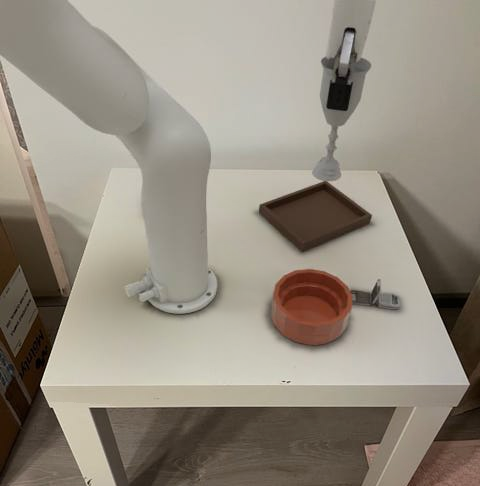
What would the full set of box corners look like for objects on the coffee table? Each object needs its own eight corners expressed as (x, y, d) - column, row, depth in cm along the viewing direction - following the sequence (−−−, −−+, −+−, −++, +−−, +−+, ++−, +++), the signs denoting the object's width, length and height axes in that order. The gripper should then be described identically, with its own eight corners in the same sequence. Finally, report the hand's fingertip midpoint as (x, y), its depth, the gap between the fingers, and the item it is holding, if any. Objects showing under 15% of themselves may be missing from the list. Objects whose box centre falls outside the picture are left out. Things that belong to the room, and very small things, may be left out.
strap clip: (398, 298, 85) (404, 280, 82) (398, 310, 83) (406, 293, 80) (349, 291, 86) (354, 273, 83) (348, 303, 84) (354, 285, 81)
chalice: (347, 164, 86) (370, 56, 73) (348, 186, 81) (372, 74, 68) (306, 161, 86) (321, 52, 73) (304, 182, 82) (320, 70, 68)
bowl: (302, 357, 76) (306, 337, 72) (256, 307, 83) (258, 286, 79) (362, 325, 80) (369, 305, 77) (314, 280, 87) (318, 259, 84)
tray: (302, 252, 92) (303, 243, 91) (258, 213, 100) (259, 204, 99) (369, 223, 99) (372, 215, 98) (324, 188, 107) (325, 180, 106)
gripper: (341, -62, 67) (321, 73, 81) (326, -29, 56) (306, 121, 69) (396, -57, 66) (367, 79, 80) (392, -23, 55) (359, 128, 68)
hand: (339, 97), depth 74 cm, fingers closed on chalice, 6 cm apart
